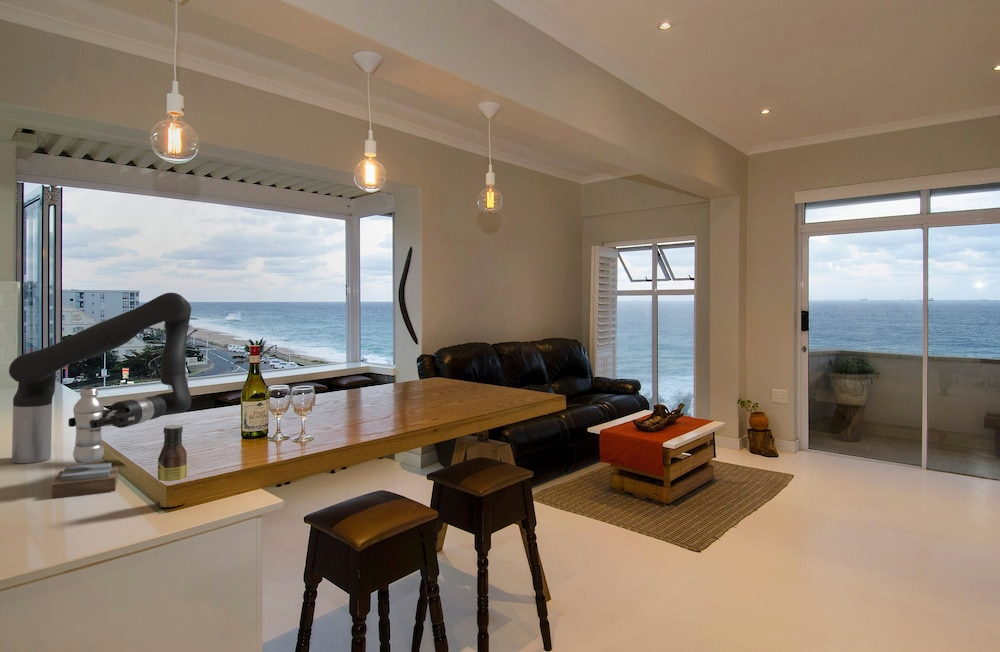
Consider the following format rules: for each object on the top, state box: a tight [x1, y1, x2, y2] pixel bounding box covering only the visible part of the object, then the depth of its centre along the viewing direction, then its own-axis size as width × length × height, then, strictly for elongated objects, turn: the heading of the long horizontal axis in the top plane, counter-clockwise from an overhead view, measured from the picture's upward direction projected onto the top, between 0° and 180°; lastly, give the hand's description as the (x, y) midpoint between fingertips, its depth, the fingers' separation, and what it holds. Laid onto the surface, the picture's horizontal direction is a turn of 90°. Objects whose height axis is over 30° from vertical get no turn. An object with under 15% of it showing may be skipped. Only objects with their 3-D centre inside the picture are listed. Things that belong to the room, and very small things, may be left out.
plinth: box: [51, 462, 119, 499], centre depth 147 cm, size 13×13×5 cm
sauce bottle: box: [157, 424, 188, 508], centre depth 136 cm, size 6×6×20 cm
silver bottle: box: [72, 386, 105, 464], centre depth 146 cm, size 6×7×20 cm
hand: (81, 423), depth 144 cm, fingers closed on silver bottle, 6 cm apart
